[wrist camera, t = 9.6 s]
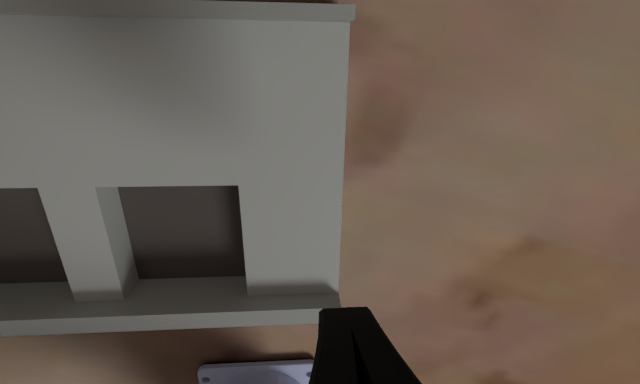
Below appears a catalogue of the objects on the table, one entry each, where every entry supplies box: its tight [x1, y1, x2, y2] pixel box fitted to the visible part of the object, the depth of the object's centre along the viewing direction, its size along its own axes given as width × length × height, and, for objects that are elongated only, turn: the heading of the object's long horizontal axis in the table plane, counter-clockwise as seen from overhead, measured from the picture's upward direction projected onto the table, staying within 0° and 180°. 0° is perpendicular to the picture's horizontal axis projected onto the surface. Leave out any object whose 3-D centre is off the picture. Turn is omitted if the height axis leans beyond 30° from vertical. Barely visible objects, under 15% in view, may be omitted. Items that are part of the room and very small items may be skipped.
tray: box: [0, 0, 356, 337], centre depth 16 cm, size 15×22×3 cm
